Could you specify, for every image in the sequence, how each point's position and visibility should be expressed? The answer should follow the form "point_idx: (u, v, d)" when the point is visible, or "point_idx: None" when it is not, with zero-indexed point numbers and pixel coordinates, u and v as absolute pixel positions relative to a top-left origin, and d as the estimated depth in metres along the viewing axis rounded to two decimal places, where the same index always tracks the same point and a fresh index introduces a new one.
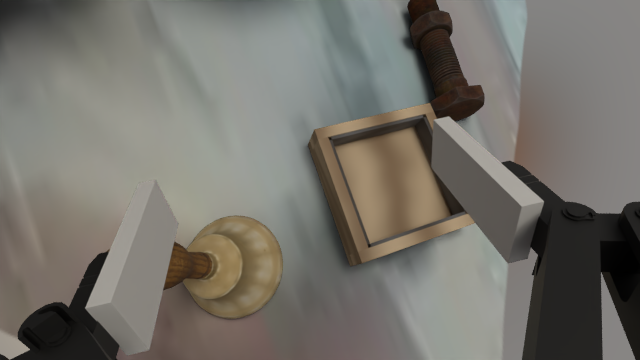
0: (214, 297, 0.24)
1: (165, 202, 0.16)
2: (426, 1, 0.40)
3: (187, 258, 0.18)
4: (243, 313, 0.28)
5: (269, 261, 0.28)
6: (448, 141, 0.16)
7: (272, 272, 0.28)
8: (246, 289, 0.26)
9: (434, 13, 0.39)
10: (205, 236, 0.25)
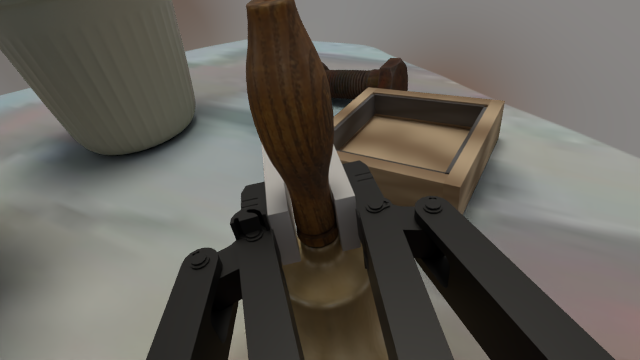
0: None
1: None
2: None
3: None
4: None
5: None
6: None
7: None
8: None
9: None
10: None
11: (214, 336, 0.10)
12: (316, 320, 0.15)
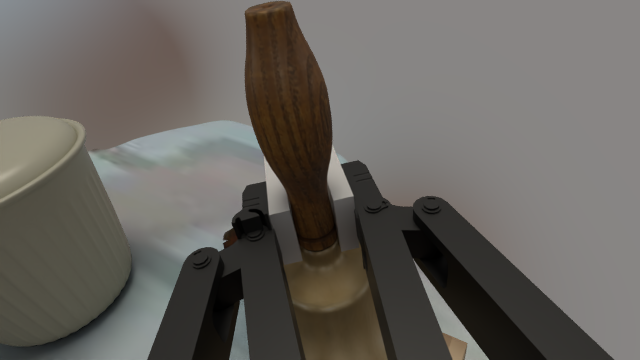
0: None
1: None
2: None
3: None
4: None
5: None
6: None
7: None
8: None
9: None
10: None
11: (215, 336, 0.10)
12: (314, 323, 0.15)
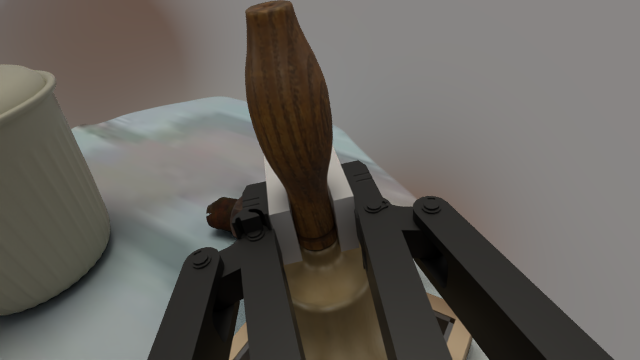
0: None
1: None
2: (220, 205, 0.34)
3: None
4: None
5: None
6: None
7: None
8: None
9: (238, 204, 0.32)
10: None
11: (215, 336, 0.10)
12: (314, 323, 0.15)
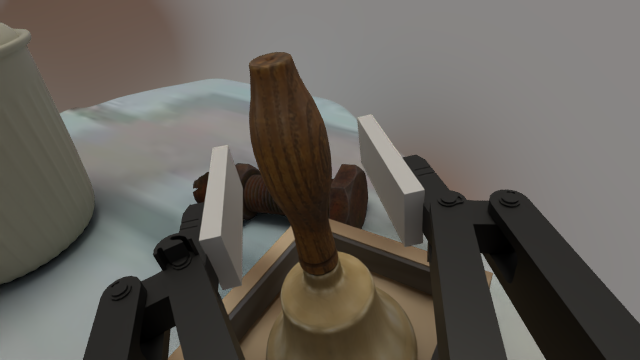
0: (371, 293, 0.16)
1: (234, 166, 0.18)
2: None
3: None
4: (412, 345, 0.18)
5: None
6: (365, 137, 0.17)
7: None
8: (379, 296, 0.19)
9: None
10: (284, 280, 0.17)
11: None
12: (317, 343, 0.15)
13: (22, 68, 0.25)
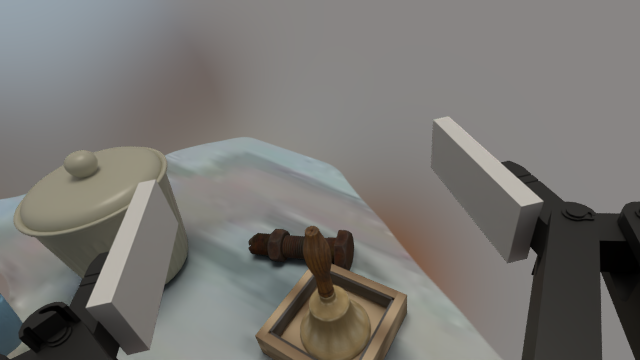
0: (348, 304, 0.38)
1: (165, 202, 0.16)
2: (258, 239, 0.52)
3: None
4: (368, 328, 0.40)
5: None
6: (447, 141, 0.16)
7: (351, 300, 0.43)
8: (353, 305, 0.40)
9: (272, 237, 0.51)
10: (310, 298, 0.39)
11: None
12: (325, 325, 0.37)
13: (165, 180, 0.47)
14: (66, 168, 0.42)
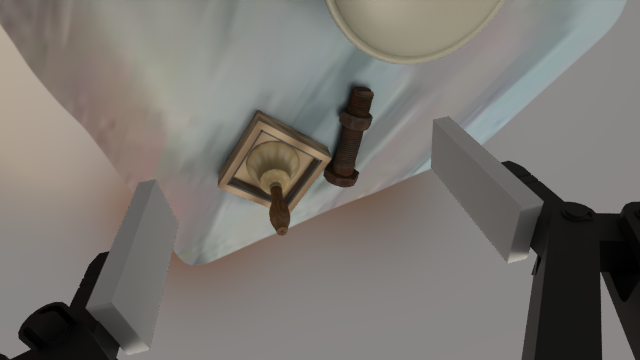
0: None
1: (165, 202, 0.16)
2: (360, 103, 0.50)
3: None
4: None
5: (293, 174, 0.56)
6: (447, 141, 0.16)
7: (292, 177, 0.56)
8: None
9: (356, 121, 0.51)
10: (278, 171, 0.50)
11: None
12: (259, 177, 0.52)
13: None
14: None
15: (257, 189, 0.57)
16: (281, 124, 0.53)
